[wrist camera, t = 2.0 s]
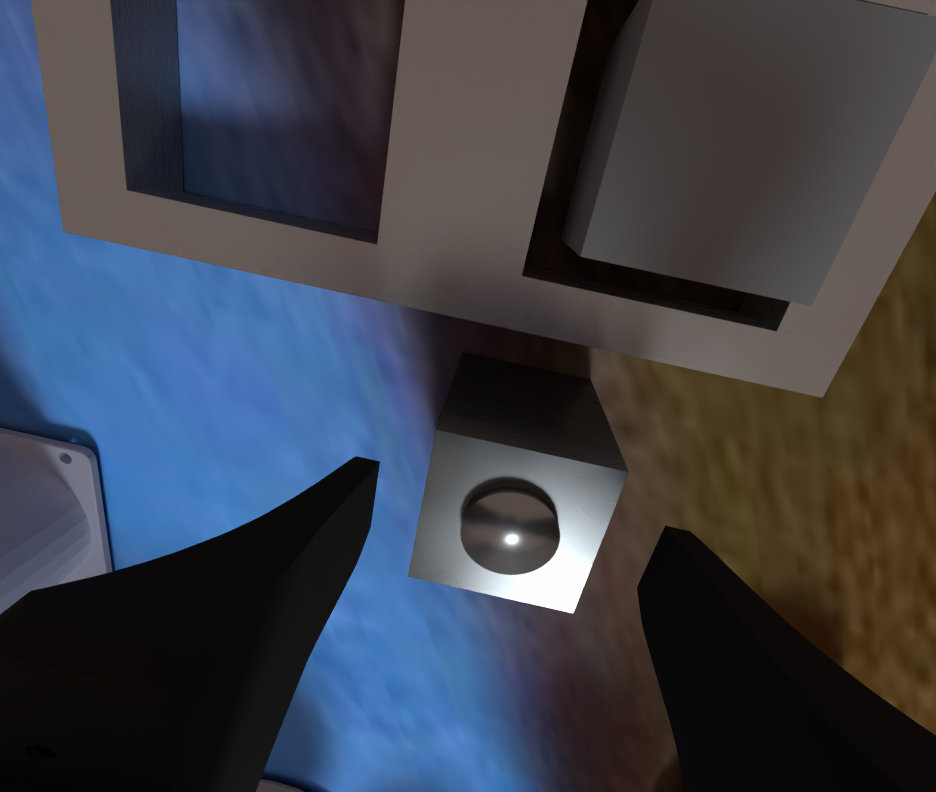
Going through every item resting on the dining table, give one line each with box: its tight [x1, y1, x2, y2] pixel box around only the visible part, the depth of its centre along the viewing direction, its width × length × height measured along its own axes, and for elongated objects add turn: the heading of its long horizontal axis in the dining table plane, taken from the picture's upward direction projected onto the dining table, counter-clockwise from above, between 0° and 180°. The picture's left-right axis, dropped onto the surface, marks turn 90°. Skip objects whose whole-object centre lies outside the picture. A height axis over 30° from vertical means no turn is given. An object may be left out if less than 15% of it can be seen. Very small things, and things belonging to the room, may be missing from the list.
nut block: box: [408, 352, 629, 613], centre depth 14 cm, size 4×4×6 cm
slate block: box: [560, 0, 936, 306], centre depth 11 cm, size 5×5×5 cm
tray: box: [31, 0, 936, 398], centre depth 12 cm, size 22×10×2 cm, turn 79°
